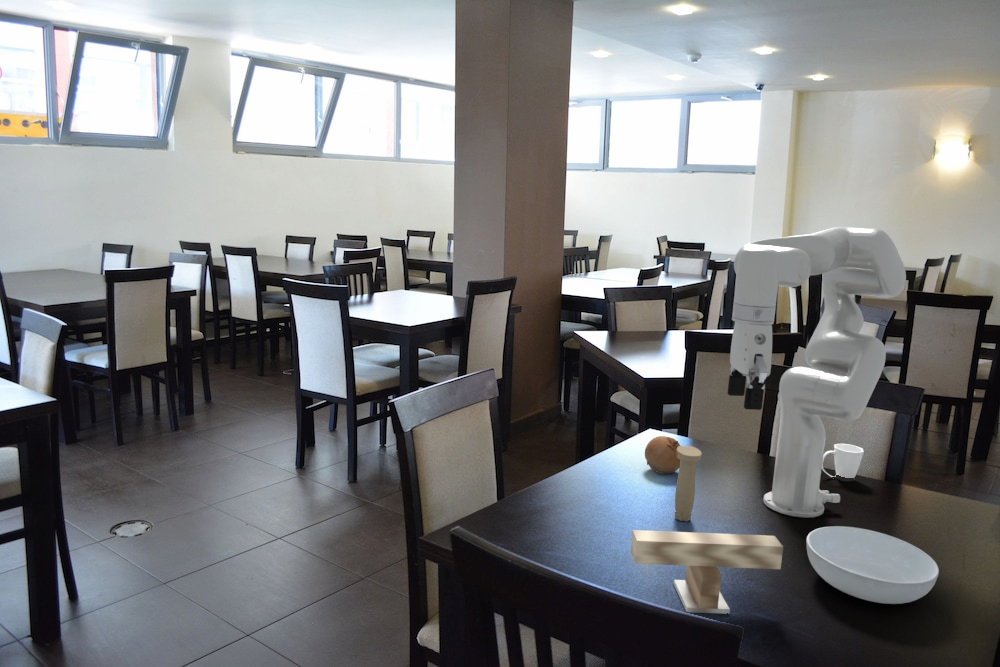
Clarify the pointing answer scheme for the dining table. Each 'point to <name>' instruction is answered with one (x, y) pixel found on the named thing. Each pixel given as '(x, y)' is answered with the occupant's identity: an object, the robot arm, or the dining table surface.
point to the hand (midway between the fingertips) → (743, 401)
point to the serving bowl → (871, 564)
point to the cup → (845, 459)
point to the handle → (686, 481)
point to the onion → (662, 455)
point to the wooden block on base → (701, 590)
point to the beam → (706, 549)
